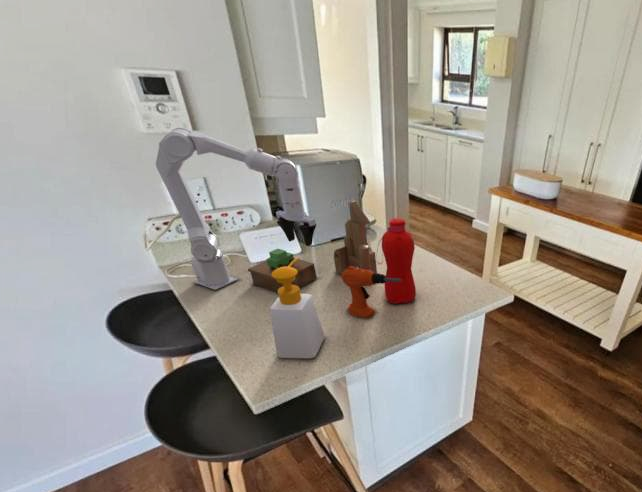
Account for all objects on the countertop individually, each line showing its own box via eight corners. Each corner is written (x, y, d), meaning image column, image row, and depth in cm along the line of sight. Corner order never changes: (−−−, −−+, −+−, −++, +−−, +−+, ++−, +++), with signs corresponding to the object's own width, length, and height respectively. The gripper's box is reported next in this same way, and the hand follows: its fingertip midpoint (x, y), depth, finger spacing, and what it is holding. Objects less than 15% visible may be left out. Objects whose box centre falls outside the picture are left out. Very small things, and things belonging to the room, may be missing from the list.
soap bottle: (331, 327, 100) (318, 252, 87) (315, 360, 88) (298, 278, 76) (295, 326, 99) (277, 250, 87) (275, 359, 88) (251, 277, 75)
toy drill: (403, 324, 100) (395, 274, 93) (346, 316, 106) (333, 269, 99) (411, 315, 104) (403, 266, 96) (355, 308, 110) (344, 262, 102)
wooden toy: (334, 272, 127) (323, 200, 113) (349, 266, 132) (340, 195, 118) (367, 285, 120) (359, 210, 107) (381, 278, 125) (375, 205, 111)
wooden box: (287, 295, 113) (284, 281, 110) (253, 283, 118) (249, 270, 115) (316, 278, 123) (314, 265, 120) (284, 269, 127) (281, 256, 125)
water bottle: (378, 291, 117) (372, 215, 104) (412, 289, 120) (411, 213, 106) (381, 306, 110) (374, 226, 96) (417, 303, 112) (416, 224, 99)
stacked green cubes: (278, 271, 114) (274, 256, 111) (268, 268, 115) (264, 253, 112) (295, 263, 119) (291, 248, 116) (285, 260, 120) (282, 246, 118)
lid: (282, 282, 110) (282, 279, 109) (248, 271, 115) (247, 268, 114) (314, 265, 120) (314, 263, 120) (281, 256, 125) (280, 254, 124)
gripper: (319, 202, 115) (325, 243, 122) (284, 194, 119) (293, 234, 127) (302, 207, 109) (310, 250, 117) (267, 200, 114) (276, 241, 121)
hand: (300, 242), depth 121 cm, fingers open, 7 cm apart
